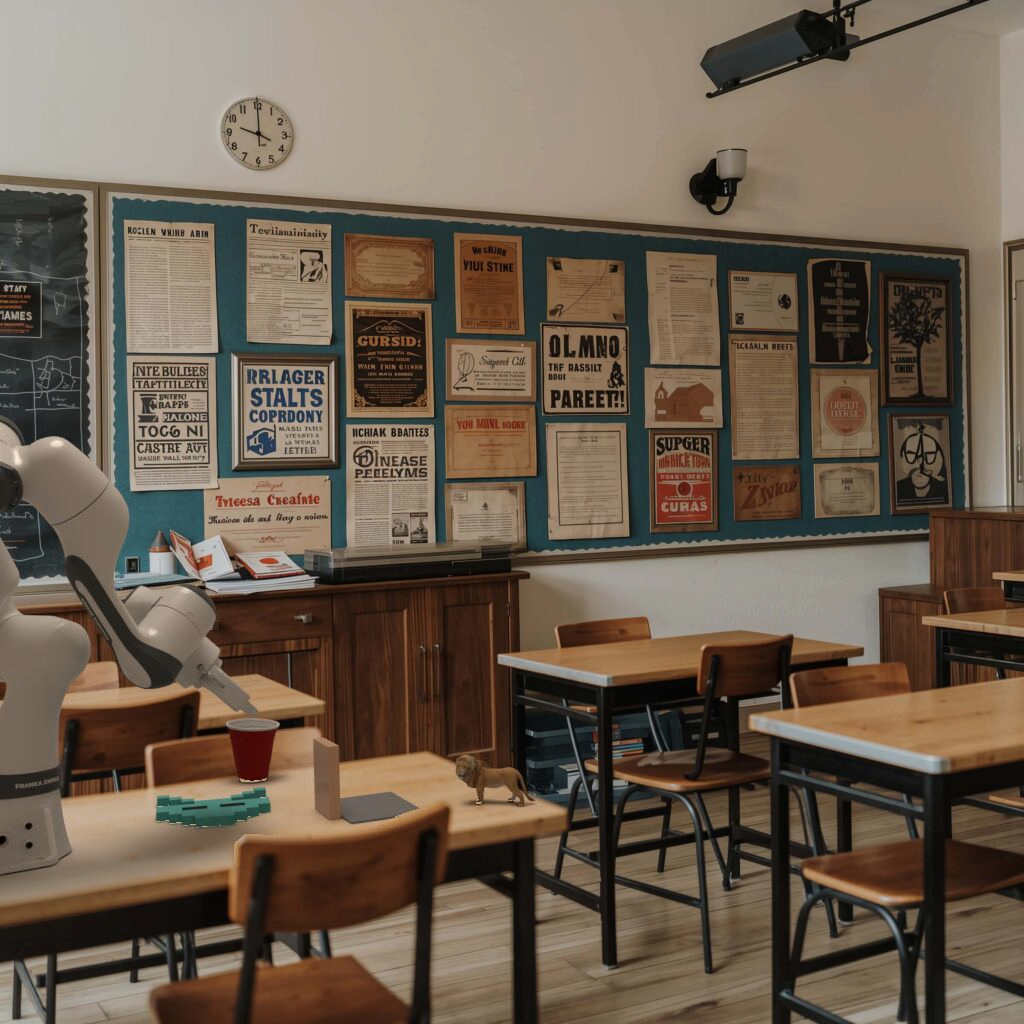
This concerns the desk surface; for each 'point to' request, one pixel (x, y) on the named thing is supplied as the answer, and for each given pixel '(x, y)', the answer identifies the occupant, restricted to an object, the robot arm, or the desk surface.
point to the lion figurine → (489, 777)
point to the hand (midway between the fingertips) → (254, 713)
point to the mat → (373, 807)
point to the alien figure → (213, 808)
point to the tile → (327, 778)
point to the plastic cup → (252, 746)
